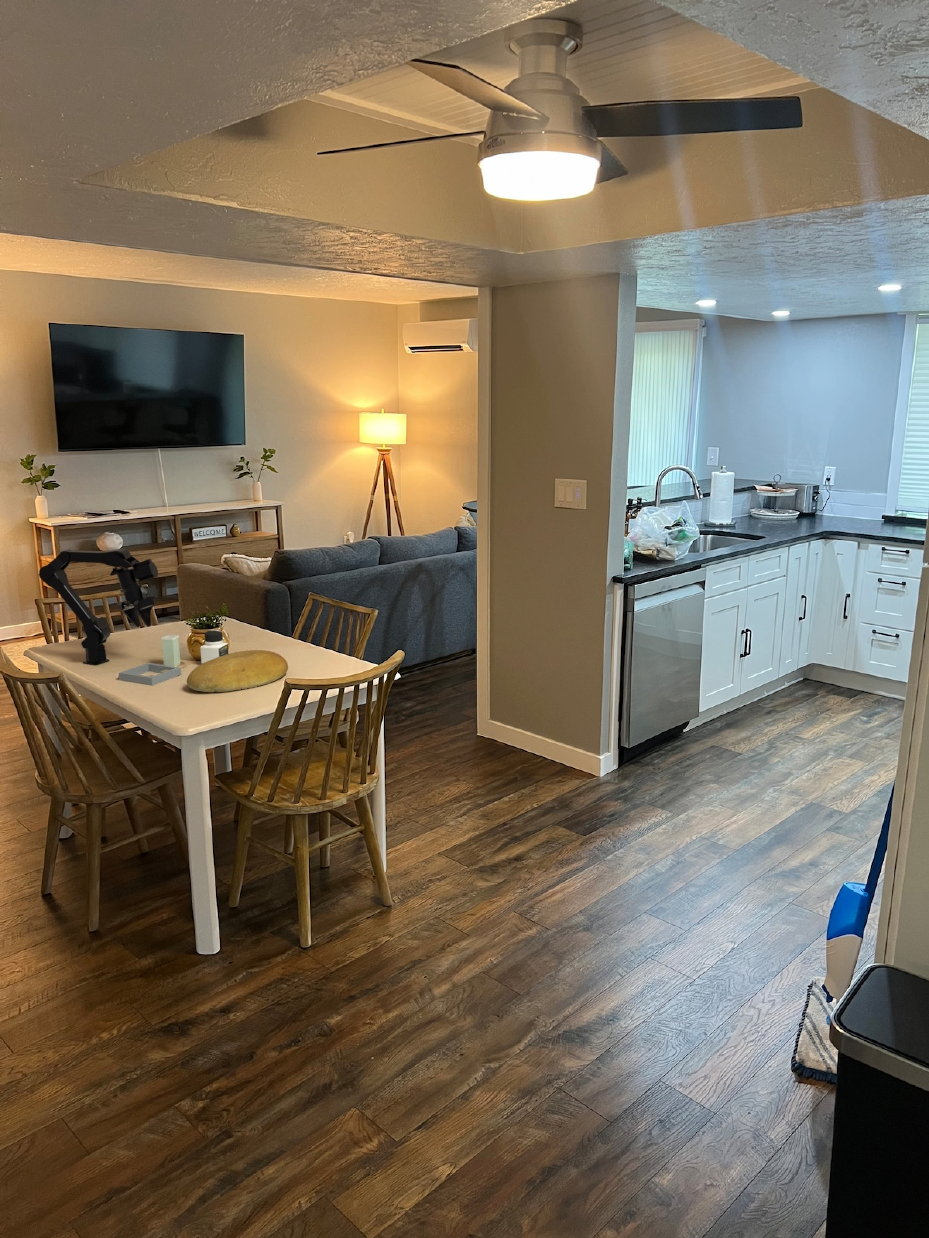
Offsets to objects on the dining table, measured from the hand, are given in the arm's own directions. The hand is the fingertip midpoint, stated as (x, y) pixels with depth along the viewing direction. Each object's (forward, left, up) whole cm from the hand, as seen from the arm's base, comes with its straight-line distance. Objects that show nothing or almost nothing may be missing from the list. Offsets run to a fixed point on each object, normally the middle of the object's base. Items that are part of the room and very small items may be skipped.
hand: (144, 626), depth 321 cm
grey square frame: (+14, -13, -13) cm, 24 cm away
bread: (+45, -5, -14) cm, 48 cm away
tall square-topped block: (+12, 0, -13) cm, 17 cm away
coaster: (+11, 0, -13) cm, 17 cm away
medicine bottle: (+23, +9, -13) cm, 28 cm away
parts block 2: (+18, -10, -13) cm, 25 cm away
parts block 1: (+18, -17, -13) cm, 28 cm away
